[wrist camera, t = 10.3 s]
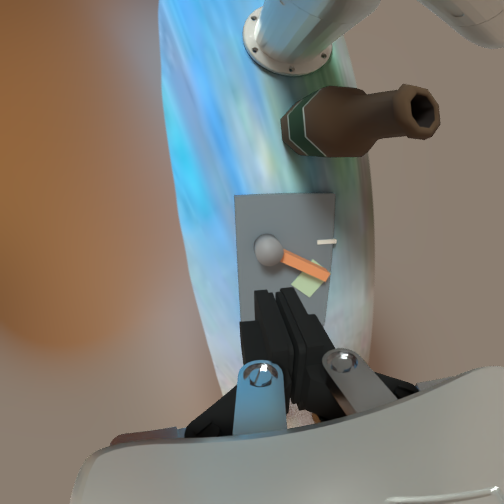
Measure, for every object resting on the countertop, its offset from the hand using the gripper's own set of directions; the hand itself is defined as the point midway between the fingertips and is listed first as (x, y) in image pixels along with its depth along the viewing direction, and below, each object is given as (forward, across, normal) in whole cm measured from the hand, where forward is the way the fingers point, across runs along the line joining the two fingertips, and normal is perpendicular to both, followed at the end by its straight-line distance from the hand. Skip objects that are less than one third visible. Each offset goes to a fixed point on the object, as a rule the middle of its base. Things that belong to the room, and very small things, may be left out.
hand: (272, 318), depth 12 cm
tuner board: (+27, -7, +10) cm, 30 cm away
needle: (+26, -8, +8) cm, 28 cm away
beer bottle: (+27, -10, -10) cm, 31 cm away
